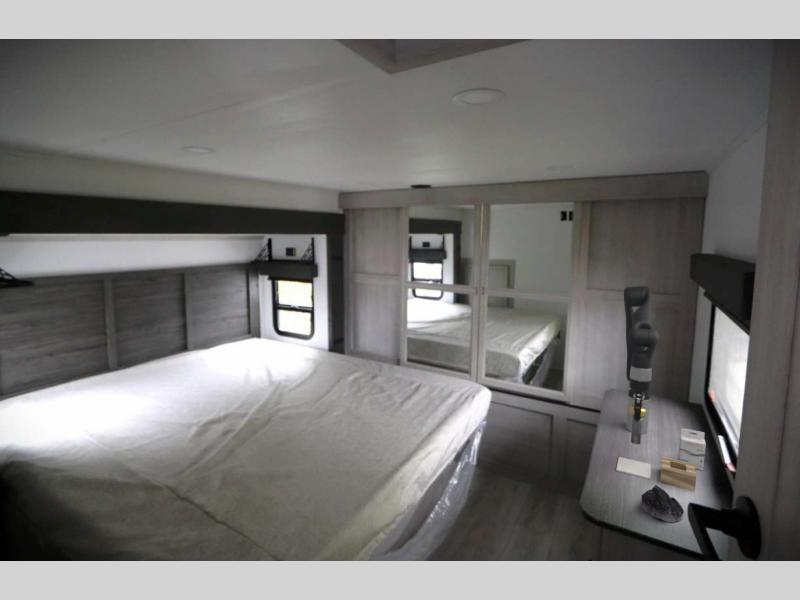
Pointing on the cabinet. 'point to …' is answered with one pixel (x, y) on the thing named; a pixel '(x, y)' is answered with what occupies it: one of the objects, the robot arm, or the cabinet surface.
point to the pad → (634, 468)
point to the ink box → (692, 447)
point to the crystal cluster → (661, 505)
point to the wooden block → (678, 473)
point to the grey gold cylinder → (636, 425)
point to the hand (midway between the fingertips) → (637, 417)
